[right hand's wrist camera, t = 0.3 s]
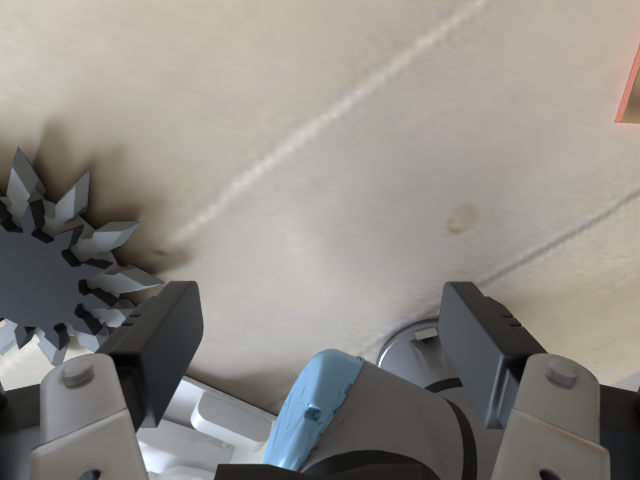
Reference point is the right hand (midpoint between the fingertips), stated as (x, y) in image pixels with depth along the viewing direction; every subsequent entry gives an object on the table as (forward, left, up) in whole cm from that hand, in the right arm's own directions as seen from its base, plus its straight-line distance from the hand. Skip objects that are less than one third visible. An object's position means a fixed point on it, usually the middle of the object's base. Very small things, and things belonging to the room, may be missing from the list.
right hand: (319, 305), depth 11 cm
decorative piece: (+12, -33, -29) cm, 46 cm away
